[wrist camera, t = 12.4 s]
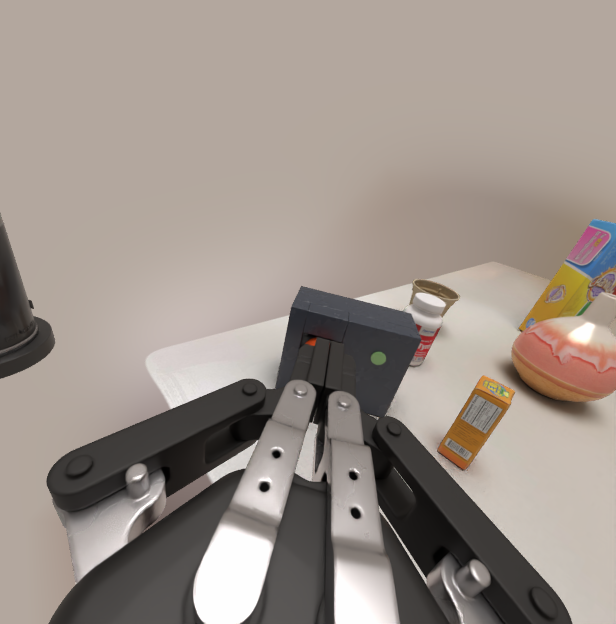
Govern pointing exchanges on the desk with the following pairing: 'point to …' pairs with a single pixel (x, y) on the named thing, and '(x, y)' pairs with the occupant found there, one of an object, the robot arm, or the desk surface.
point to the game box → (580, 276)
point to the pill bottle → (425, 322)
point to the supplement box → (476, 421)
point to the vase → (570, 354)
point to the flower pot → (435, 292)
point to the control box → (354, 342)
